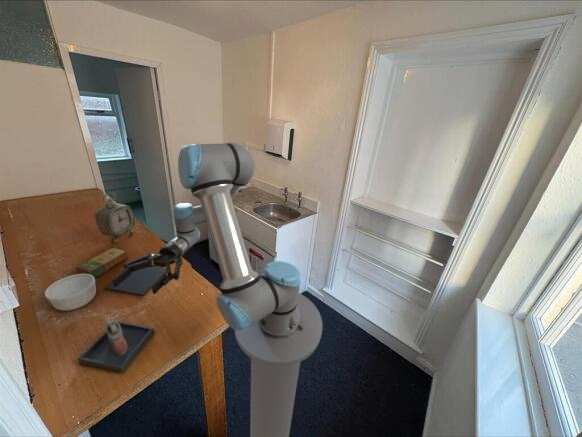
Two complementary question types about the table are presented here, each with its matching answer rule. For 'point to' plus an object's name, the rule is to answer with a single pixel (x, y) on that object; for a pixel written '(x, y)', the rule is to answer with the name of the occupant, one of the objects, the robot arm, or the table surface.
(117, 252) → the carton
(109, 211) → the tabletop clock
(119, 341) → the lighter
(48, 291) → the ramekin
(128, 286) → the mat
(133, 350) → the tray
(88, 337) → the table surface
